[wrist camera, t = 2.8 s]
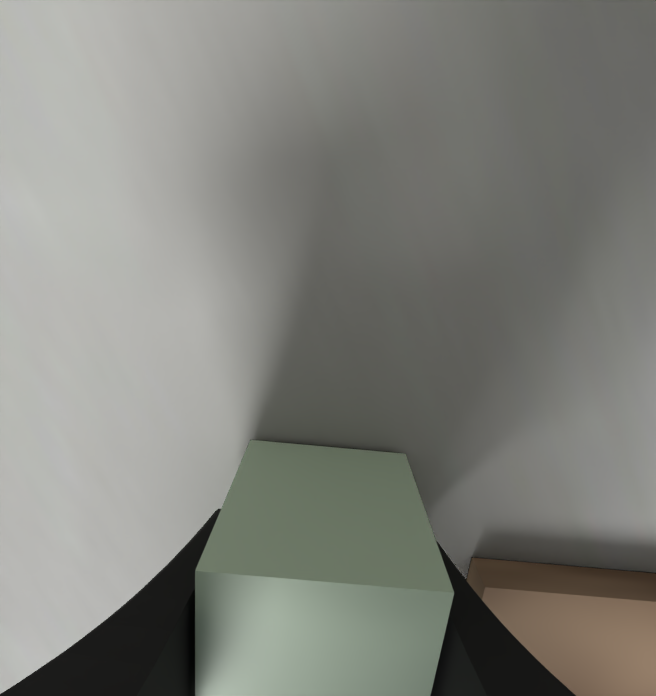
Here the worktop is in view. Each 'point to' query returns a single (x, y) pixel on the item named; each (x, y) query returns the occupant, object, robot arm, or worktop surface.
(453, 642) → the robot arm
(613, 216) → the worktop surface
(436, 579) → the green cube
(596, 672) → the cutting board
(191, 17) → the worktop surface
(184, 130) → the worktop surface
